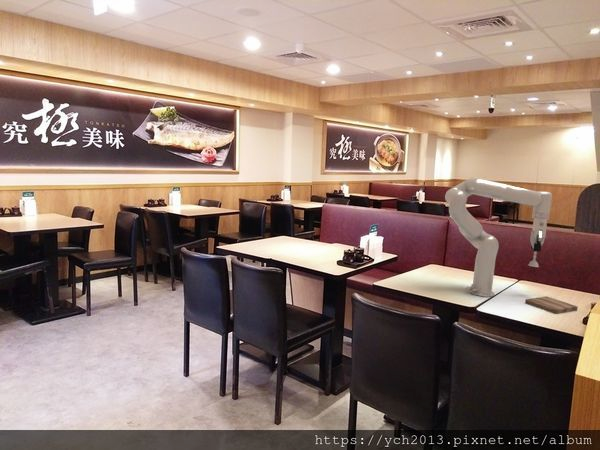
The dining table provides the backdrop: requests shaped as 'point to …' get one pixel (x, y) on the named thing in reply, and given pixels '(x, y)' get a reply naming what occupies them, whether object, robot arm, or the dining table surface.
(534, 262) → the chalice
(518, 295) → the dining table surface
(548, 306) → the serving board
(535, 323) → the dining table surface
